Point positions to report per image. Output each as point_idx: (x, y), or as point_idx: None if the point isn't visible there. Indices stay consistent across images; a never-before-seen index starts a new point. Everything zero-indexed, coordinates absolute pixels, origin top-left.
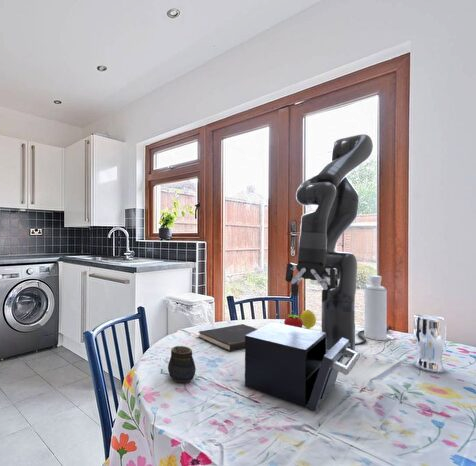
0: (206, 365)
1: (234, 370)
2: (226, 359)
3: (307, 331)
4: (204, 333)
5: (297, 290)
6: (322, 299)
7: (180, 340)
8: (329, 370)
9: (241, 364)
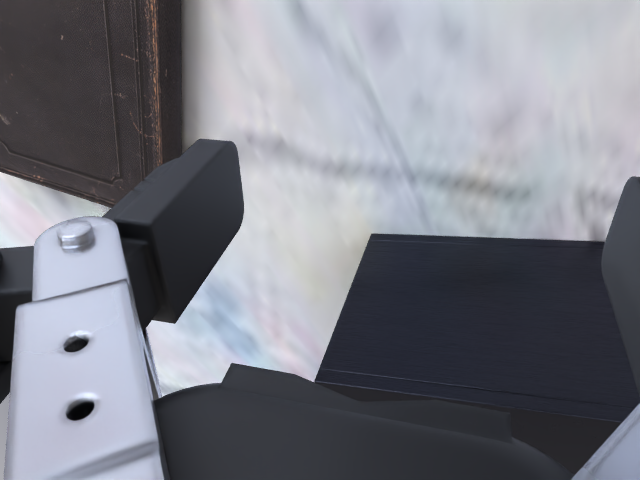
0: (235, 355)
1: (309, 341)
2: (233, 281)
3: (539, 448)
4: (7, 169)
5: (205, 195)
6: (613, 284)
7: (15, 229)
8: None
9: (291, 288)
